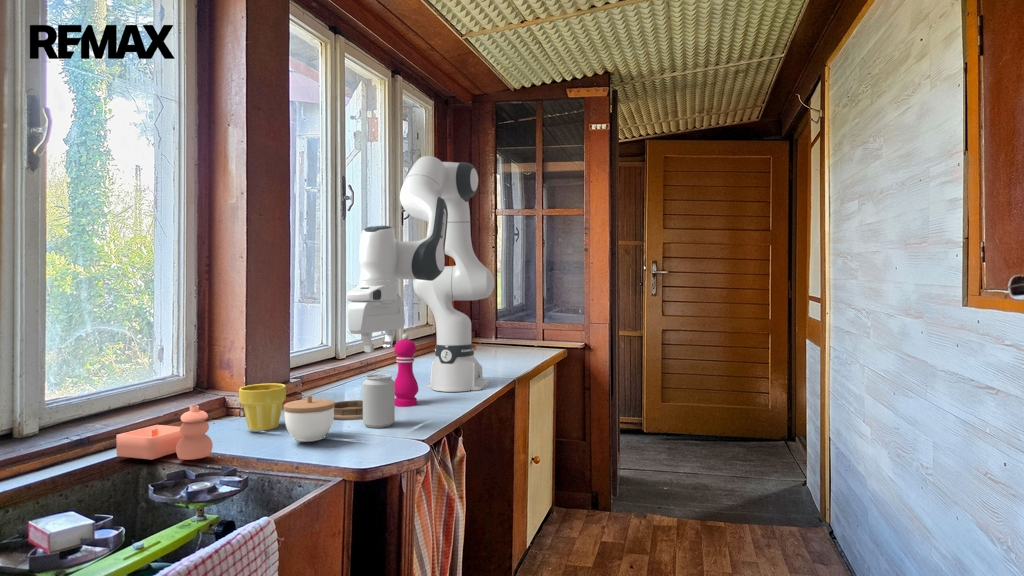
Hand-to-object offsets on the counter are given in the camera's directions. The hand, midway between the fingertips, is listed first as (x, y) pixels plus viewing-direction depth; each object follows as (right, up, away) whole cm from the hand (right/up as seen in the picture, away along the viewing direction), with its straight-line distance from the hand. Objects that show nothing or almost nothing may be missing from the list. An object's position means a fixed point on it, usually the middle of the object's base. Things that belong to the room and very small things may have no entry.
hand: (378, 350), depth 152 cm
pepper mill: (+2, -18, +25) cm, 31 cm away
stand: (-10, -18, +13) cm, 24 cm away
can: (0, -18, 0) cm, 18 cm away
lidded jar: (-13, -18, -13) cm, 26 cm away
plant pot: (-27, -18, -3) cm, 33 cm away
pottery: (-37, -19, -24) cm, 48 cm away
